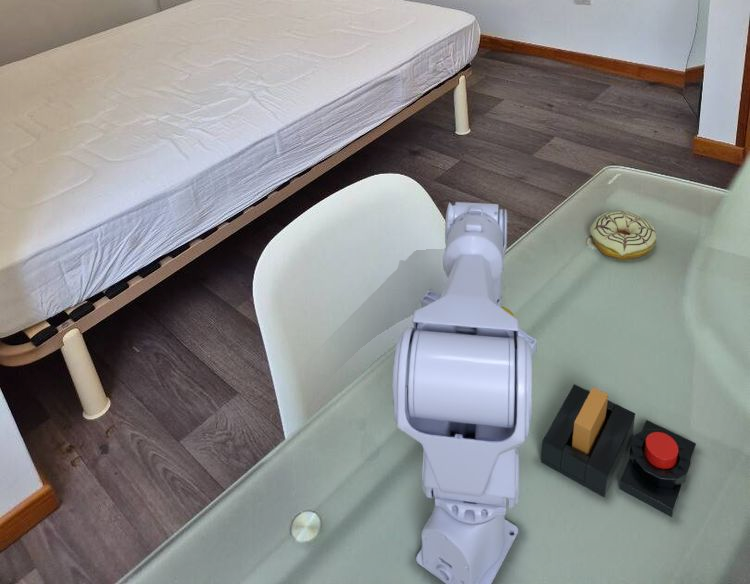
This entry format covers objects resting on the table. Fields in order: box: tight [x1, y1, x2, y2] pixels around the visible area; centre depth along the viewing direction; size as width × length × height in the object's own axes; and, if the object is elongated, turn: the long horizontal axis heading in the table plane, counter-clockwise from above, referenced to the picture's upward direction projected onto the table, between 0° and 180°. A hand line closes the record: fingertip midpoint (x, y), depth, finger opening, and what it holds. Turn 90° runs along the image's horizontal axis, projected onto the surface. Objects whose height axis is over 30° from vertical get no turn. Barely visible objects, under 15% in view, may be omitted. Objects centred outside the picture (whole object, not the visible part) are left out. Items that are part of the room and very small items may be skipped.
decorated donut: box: [589, 210, 657, 260], centre depth 120 cm, size 10×11×4 cm
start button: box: [644, 432, 678, 469], centre depth 82 cm, size 4×4×2 cm
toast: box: [572, 387, 609, 457], centre depth 85 cm, size 6×2×6 cm, turn 143°
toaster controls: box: [618, 419, 697, 518], centre depth 83 cm, size 10×6×3 cm, turn 143°
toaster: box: [540, 383, 636, 498], centre depth 85 cm, size 10×8×4 cm
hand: (476, 372), depth 85 cm, fingers closed
